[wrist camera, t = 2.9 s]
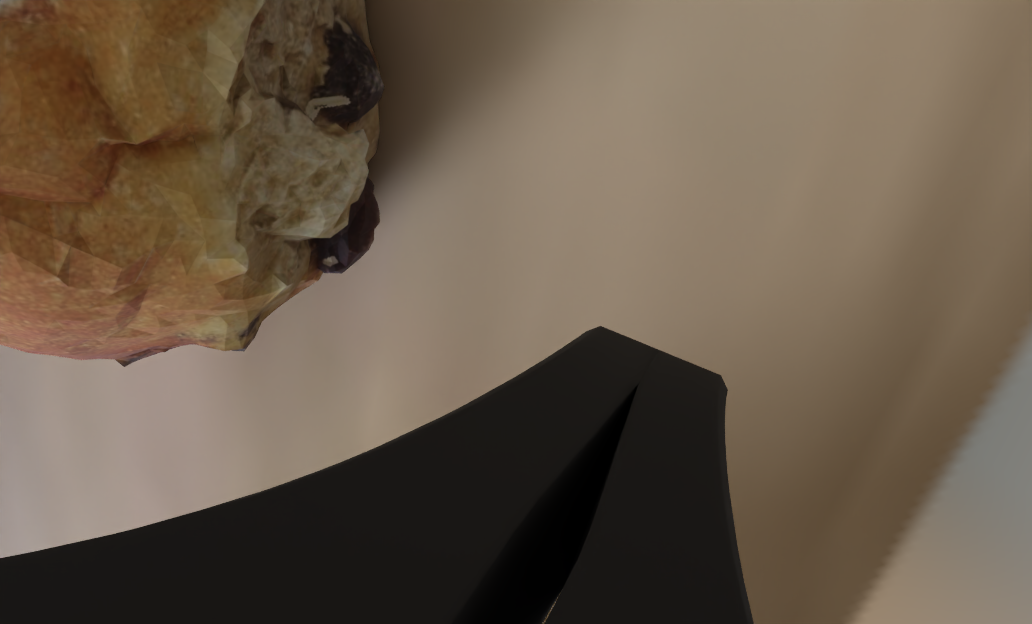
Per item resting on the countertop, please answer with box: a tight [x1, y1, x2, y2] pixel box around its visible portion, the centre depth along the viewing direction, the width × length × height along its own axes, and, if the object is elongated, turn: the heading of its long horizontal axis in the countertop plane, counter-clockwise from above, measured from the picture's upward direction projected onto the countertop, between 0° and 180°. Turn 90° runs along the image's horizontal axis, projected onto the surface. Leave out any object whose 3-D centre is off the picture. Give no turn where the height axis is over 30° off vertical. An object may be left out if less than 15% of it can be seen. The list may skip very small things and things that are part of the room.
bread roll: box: [0, 0, 384, 367], centre depth 13 cm, size 10×10×8 cm
